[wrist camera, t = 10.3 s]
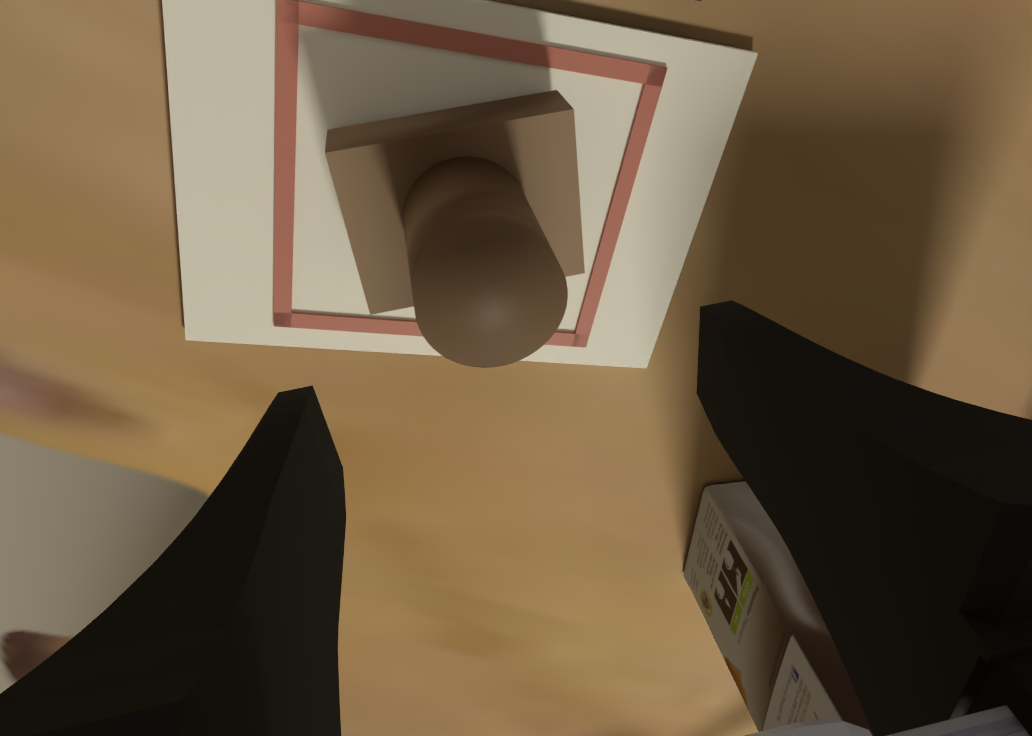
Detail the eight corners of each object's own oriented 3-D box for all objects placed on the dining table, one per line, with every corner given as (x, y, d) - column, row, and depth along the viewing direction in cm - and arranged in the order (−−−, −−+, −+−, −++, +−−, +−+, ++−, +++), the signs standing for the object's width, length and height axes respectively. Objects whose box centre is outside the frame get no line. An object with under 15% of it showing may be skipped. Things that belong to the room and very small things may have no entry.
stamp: (552, 85, 19) (630, 173, 14) (565, 237, 22) (634, 362, 16) (327, 123, 19) (316, 231, 13) (369, 275, 21) (373, 416, 16)
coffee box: (678, 580, 33) (882, 1034, 20) (702, 480, 30) (969, 957, 17) (857, 555, 35) (1151, 964, 22) (901, 457, 31) (1286, 879, 18)
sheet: (753, 51, 20) (760, 54, 19) (643, 363, 25) (647, 369, 25) (160, -64, 16) (156, -62, 16) (187, 334, 22) (185, 342, 21)
